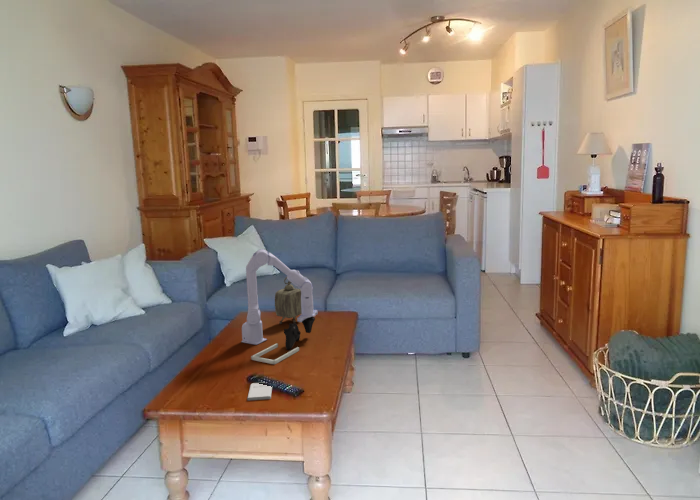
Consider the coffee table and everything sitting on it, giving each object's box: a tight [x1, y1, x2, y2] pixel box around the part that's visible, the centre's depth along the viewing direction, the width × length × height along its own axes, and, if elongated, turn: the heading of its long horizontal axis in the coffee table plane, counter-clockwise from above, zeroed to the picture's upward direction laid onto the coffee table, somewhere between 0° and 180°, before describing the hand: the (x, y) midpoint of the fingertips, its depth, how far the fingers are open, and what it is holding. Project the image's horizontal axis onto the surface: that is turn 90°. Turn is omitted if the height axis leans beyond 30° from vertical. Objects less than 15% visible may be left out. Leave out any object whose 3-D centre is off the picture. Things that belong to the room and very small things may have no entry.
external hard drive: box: [247, 382, 273, 401], centre depth 191 cm, size 2×8×12 cm
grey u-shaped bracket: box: [250, 343, 300, 365], centre depth 228 cm, size 13×18×2 cm
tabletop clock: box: [274, 276, 302, 325], centre depth 273 cm, size 14×9×25 cm, turn 144°
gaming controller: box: [283, 322, 301, 351], centre depth 238 cm, size 14×6×10 cm, turn 168°
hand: (308, 332), depth 250 cm, fingers closed
